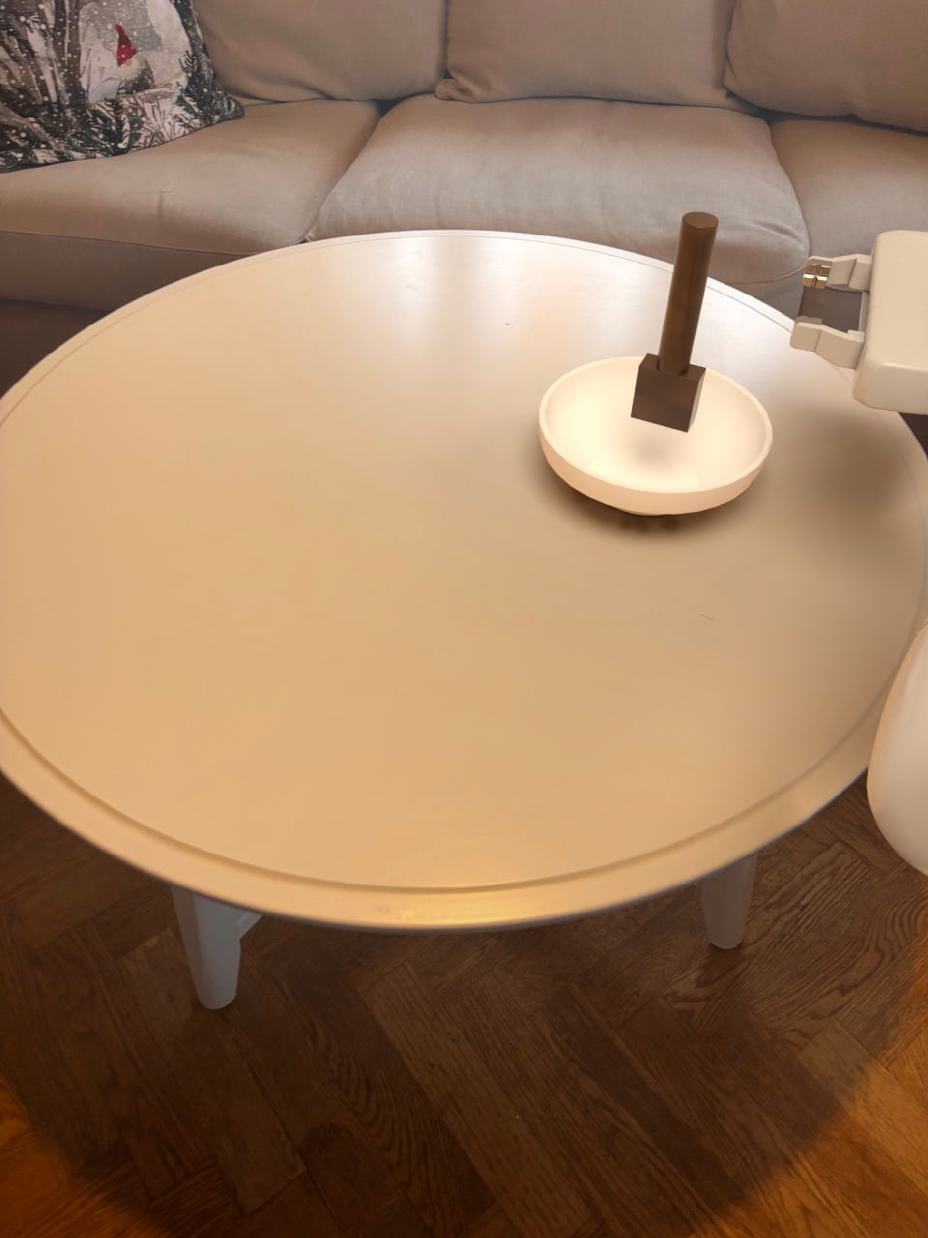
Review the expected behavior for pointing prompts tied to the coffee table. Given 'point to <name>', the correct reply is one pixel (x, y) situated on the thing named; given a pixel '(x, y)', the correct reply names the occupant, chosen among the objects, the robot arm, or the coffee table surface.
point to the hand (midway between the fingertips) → (798, 299)
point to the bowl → (651, 441)
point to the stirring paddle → (678, 333)
